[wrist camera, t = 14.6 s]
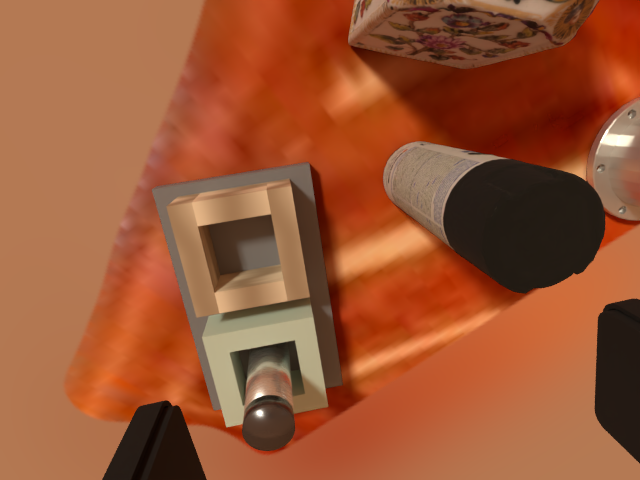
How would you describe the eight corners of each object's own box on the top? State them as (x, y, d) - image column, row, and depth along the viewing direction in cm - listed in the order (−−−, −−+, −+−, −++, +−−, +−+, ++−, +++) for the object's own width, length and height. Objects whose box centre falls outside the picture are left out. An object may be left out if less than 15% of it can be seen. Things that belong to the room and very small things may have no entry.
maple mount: (289, 178, 36) (291, 186, 32) (306, 279, 39) (309, 296, 35) (177, 196, 35) (166, 206, 32) (204, 297, 39) (196, 317, 35)
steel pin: (285, 329, 40) (290, 403, 30) (291, 362, 42) (298, 445, 31) (246, 336, 40) (237, 414, 30) (253, 369, 42) (248, 455, 31)
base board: (307, 162, 37) (309, 163, 36) (340, 376, 45) (342, 385, 43) (156, 186, 36) (151, 189, 35) (215, 400, 44) (213, 410, 42)
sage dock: (309, 297, 40) (313, 316, 36) (323, 380, 43) (328, 406, 39) (208, 315, 39) (202, 337, 35) (230, 399, 42) (226, 427, 38)
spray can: (454, 196, 40) (618, 270, 21) (390, 219, 40) (497, 314, 21) (439, 131, 38) (606, 147, 19) (371, 155, 38) (471, 196, 19)
